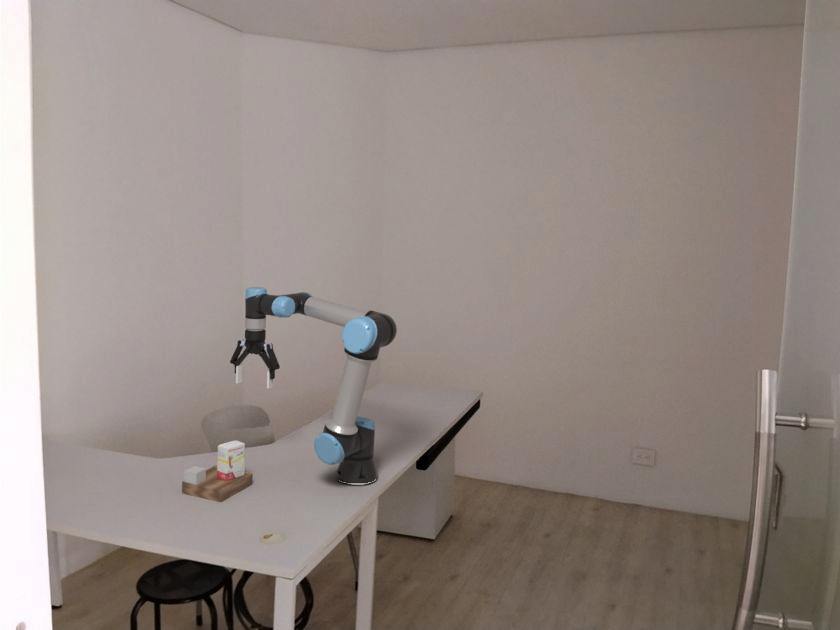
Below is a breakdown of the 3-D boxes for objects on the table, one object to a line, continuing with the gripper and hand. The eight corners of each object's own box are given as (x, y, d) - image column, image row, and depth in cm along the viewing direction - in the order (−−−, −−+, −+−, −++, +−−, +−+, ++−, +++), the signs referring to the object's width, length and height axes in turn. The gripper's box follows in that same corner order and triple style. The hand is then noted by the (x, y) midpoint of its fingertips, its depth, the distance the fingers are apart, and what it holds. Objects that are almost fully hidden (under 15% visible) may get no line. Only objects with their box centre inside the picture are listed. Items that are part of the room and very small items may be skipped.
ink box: (225, 481, 248) (226, 448, 246) (216, 478, 251) (216, 445, 249) (245, 475, 255) (245, 442, 253) (235, 471, 258) (236, 439, 256)
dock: (252, 484, 257) (252, 473, 257) (221, 502, 241) (221, 490, 240) (214, 476, 263) (215, 465, 262) (182, 493, 246) (182, 481, 246)
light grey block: (205, 479, 249) (205, 468, 248) (196, 484, 244) (196, 473, 244) (193, 477, 251) (193, 466, 250) (184, 481, 246) (184, 470, 245)
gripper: (290, 331, 266) (288, 387, 269) (233, 324, 275) (232, 378, 278) (279, 334, 259) (277, 391, 262) (220, 326, 268) (220, 382, 271)
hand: (254, 385), depth 270 cm, fingers open, 13 cm apart
